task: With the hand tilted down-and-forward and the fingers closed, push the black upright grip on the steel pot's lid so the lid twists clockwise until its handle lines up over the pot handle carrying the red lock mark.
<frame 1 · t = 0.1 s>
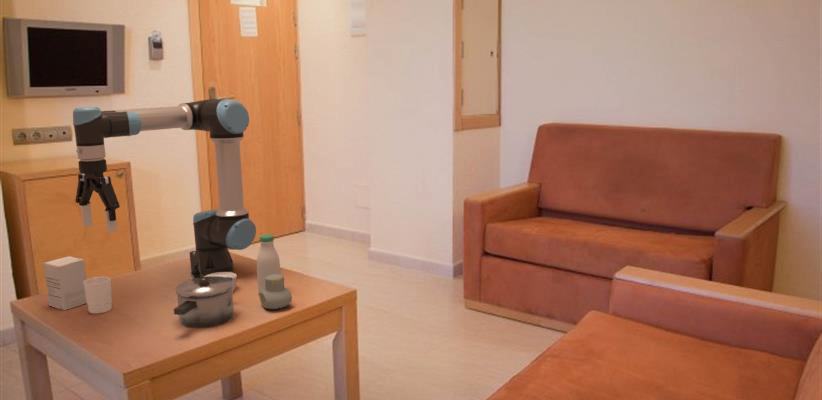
hand: (100, 228, 199), 28 cm above the table, tool pointing down, fingers open, 13 cm apart
pot: (207, 318, 201), on the table
white cup: (100, 310, 210), on the table
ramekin: (221, 291, 226), on the table
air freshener: (276, 307, 210), on the table
lid: (201, 272, 201), point 14 cm above the table, hinge at 40.0°
supplement box: (69, 304, 216), on the table
milk bottle: (270, 293, 223), on the table
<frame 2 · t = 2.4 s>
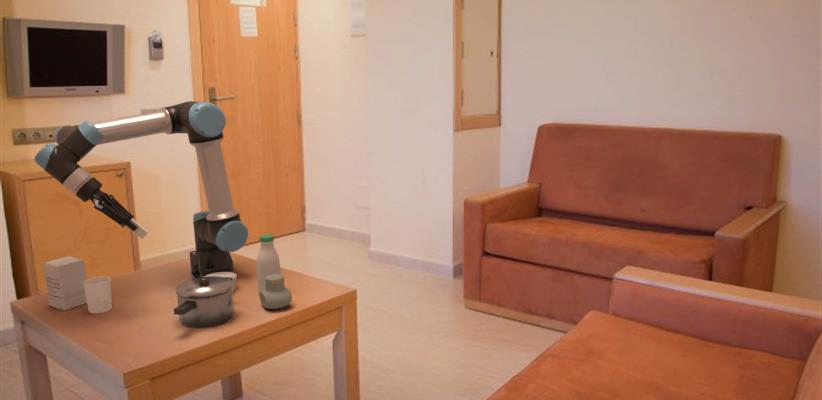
hand: (145, 235, 206), 24 cm above the table, tool tilted 45°, fingers closed
nothing on the table moved.
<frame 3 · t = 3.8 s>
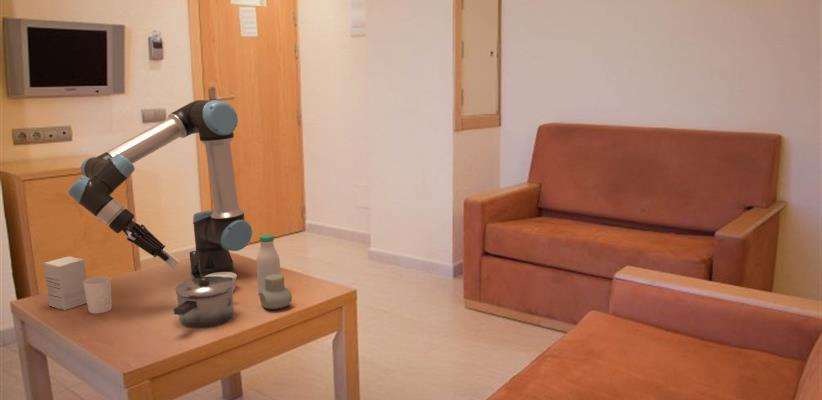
hand: (176, 265, 209), 14 cm above the table, tool tilted 45°, fingers closed
nothing on the table moved.
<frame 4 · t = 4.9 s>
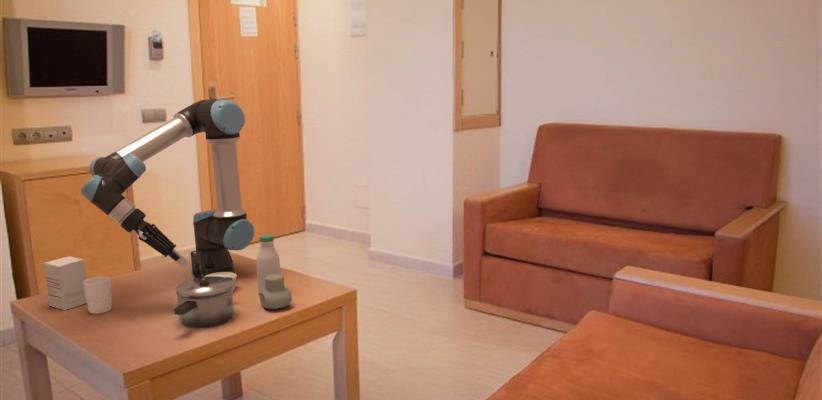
hand: (187, 264, 209), 14 cm above the table, tool tilted 45°, fingers closed
lid: (201, 272, 201), point 14 cm above the table, hinge at 38.7°, touching gripper
everything else where it was.
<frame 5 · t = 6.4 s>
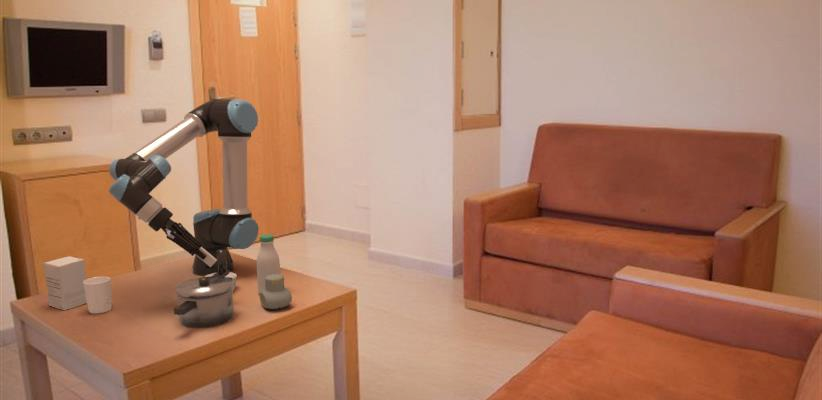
hand: (213, 263, 211), 14 cm above the table, tool tilted 45°, fingers closed, pressing on lid
lid: (208, 272, 202), point 14 cm above the table, hinge at 3.8°, touching gripper
everything else where it was.
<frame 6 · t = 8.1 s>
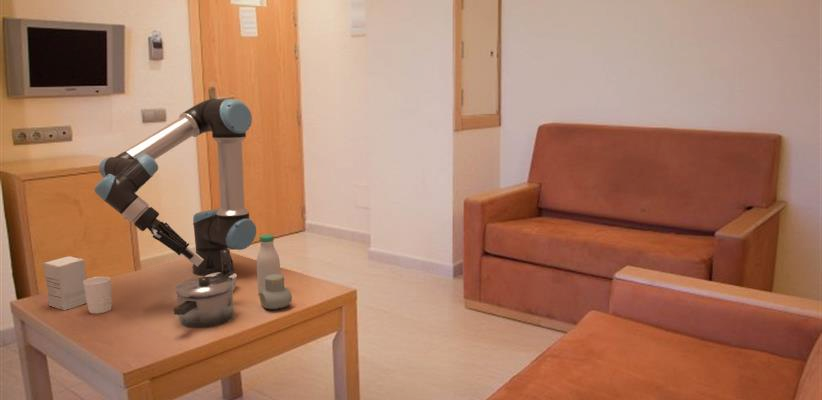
hand: (200, 263, 210), 14 cm above the table, tool tilted 45°, fingers closed
lid: (209, 272, 202), point 14 cm above the table, hinge at -2.1°
everything else where it was.
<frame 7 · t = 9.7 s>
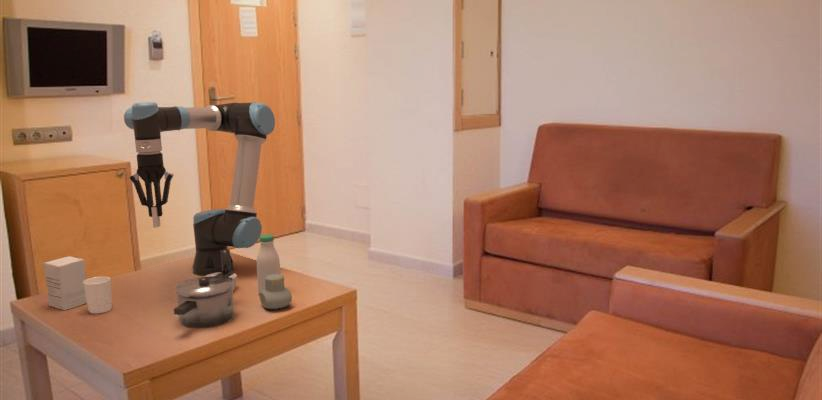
hand: (156, 226, 208), 26 cm above the table, tool pointing down, fingers closed
nothing on the table moved.
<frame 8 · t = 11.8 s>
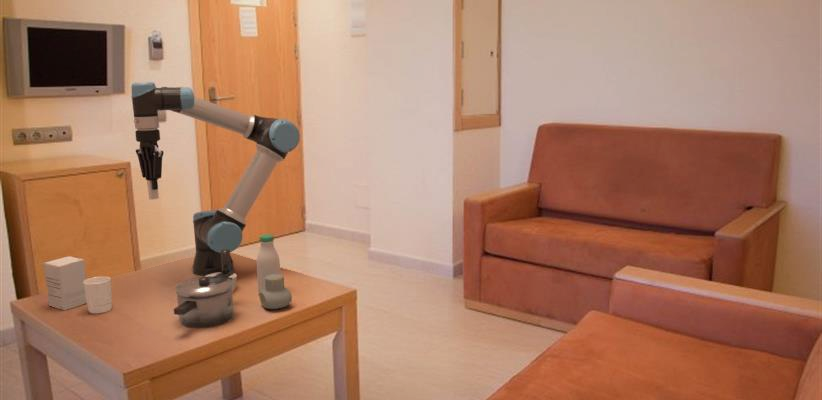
hand: (153, 198, 222), 32 cm above the table, tool pointing down, fingers closed
nothing on the table moved.
at the end: lid at -2° (first picture: +40°); lid touching nothing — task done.
